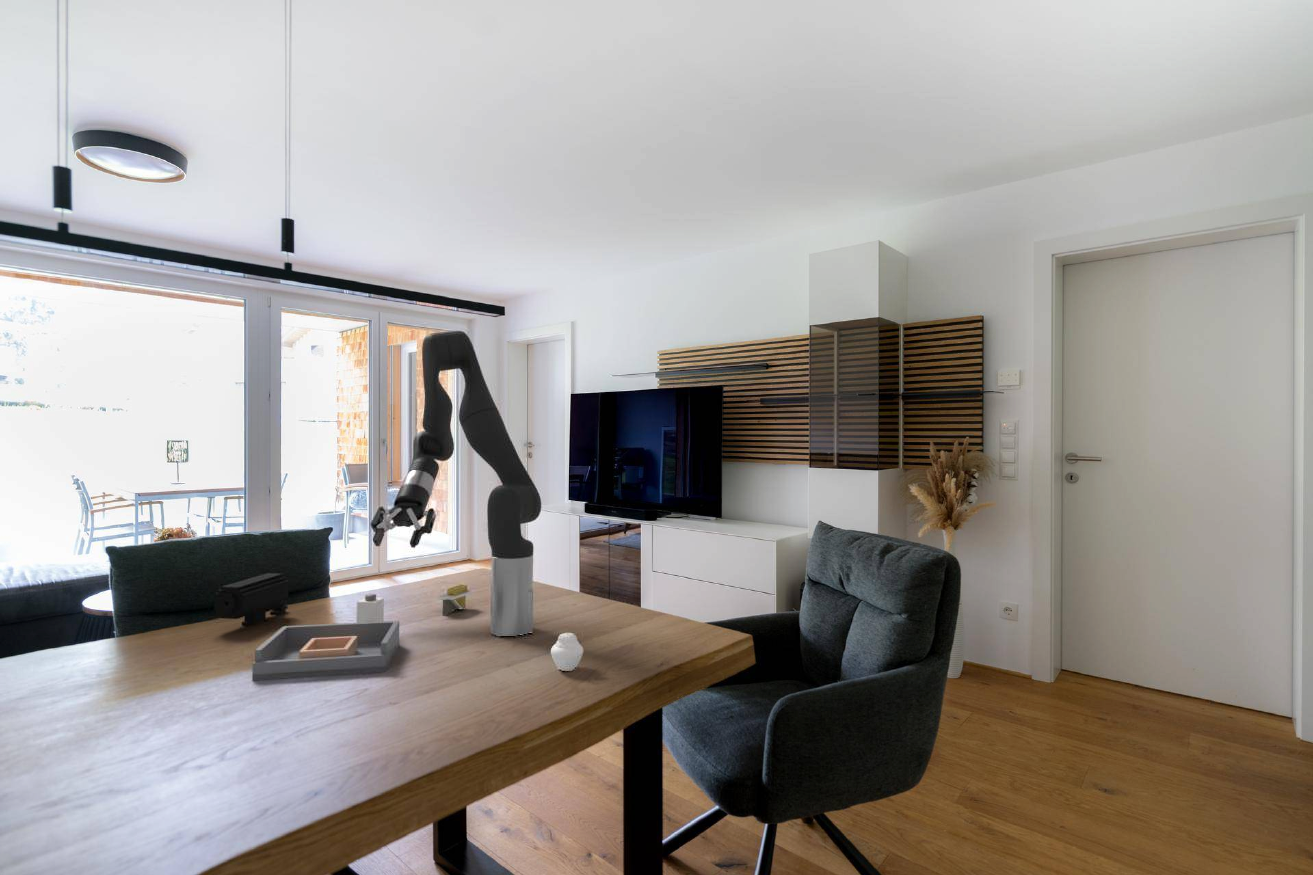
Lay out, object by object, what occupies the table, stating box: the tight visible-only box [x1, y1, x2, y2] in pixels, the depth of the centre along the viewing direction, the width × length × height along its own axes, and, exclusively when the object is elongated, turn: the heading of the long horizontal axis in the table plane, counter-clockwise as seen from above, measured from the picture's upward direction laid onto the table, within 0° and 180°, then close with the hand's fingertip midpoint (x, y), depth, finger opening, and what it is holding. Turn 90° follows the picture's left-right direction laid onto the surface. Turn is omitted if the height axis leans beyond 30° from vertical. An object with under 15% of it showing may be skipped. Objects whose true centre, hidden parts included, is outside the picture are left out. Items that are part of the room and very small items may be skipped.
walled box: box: [251, 620, 400, 681], centre depth 124 cm, size 22×16×5 cm
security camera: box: [213, 572, 290, 627], centre depth 149 cm, size 7×18×10 cm, turn 174°
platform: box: [437, 584, 473, 616], centre depth 160 cm, size 12×18×7 cm, turn 159°
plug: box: [356, 593, 385, 623], centre depth 139 cm, size 4×4×9 cm
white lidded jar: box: [550, 632, 584, 670], centre depth 121 cm, size 6×6×7 cm
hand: (394, 545), depth 151 cm, fingers open, 8 cm apart
